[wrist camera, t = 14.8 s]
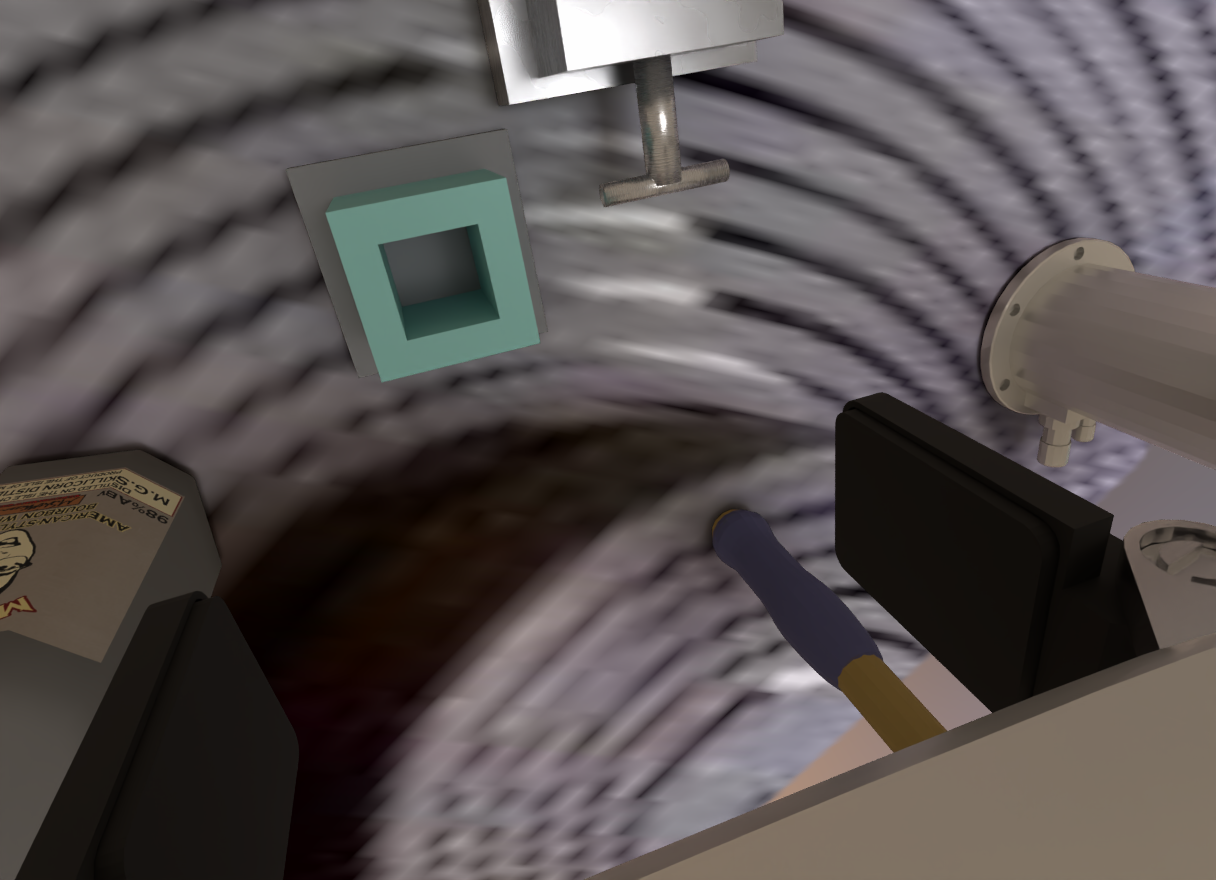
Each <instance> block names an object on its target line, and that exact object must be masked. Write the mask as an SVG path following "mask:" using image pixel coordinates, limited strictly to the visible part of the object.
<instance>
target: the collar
mask: <svg viewBox="0 0 1216 880" xmlns="http://www.w3.org/2000/svg"><path fill="white" fill-rule="evenodd" d="M326 216H327V219H328V222H329V225H330V228H331V231H332V234H333V237H334V240H335V243H336V246H337V249H338V252H339V255H340V258H341V261H342V264H343V267H344V270H345V273H346V276H347V279H348V282H349V285H350V288H351V291H352V294H353V297H354V300H355V303H356V306H357V309H358V312H359V315H360V318H361V321H362V324H363V327H364V330H365V333H366V336H367V339H368V342H369V345H370V348H371V351H372V354H373V357H374V360H375V363H376V366H377V369H378V372H379V375H380V378H381V381H382V382H386V381H390V380H394V379H398V378H402V377H406V376H410V375H414V374H418V373H422V372H426V371H430V370H434V369H438V368H442V367H446V366H450V365H454V364H458V363H462V362H466V361H470V360H474V359H478V358H482V357H486V356H491V355H495V354H499V353H503V352H507V351H511V350H515V349H519V348H523V347H527V346H531V345H535V344H539V343H540V339H539V334H538V329H537V324H536V319H535V315H534V310H533V305H532V300H531V295H530V291H529V286H528V281H527V276H526V271H525V267H524V262H523V257H522V252H521V247H520V242H519V238H518V233H517V228H516V223H515V218H514V214H513V209H512V204H511V199H510V194H509V190H508V185H507V180H506V177H503V176H501V175H499V174H496V173H494V172H491V171H489V170H487V169H480V170H475V171H470V172H465V173H459V174H454V175H449V176H444V177H438V178H433V179H428V180H423V181H417V182H412V183H407V184H402V185H396V186H391V187H386V188H381V189H375V190H370V191H365V192H360V193H354V194H349V195H344V196H339V197H334V198H333V200H332V201H331V203H330V205H329V207H328V209H327V211H326ZM465 226H466V229H467V233H468V237H469V241H470V245H471V249H472V253H473V258H474V262H475V266H476V270H477V274H478V278H479V282H480V287H481V289H479V290H474V291H470V292H466V293H461V294H457V295H452V296H448V297H444V298H439V299H435V300H430V301H426V302H422V303H417V304H413V305H408V306H404V307H402V305H401V302H400V299H399V295H398V292H397V289H396V285H395V282H394V279H393V275H392V272H391V269H390V265H389V262H388V259H387V255H386V252H385V249H384V245H383V243H388V242H393V241H398V240H402V239H407V238H412V237H417V236H422V235H427V234H431V233H436V232H441V231H446V230H451V229H456V228H460V227H465Z"/></svg>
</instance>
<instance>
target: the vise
mask: <svg viewBox="0 0 1216 880" xmlns="http://www.w3.org/2000/svg"><path fill="white" fill-rule="evenodd" d="M477 2H478V7H479V12H480V17H481V22H482V27H483V32H484V37H485V41H486V46H487V51H488V56H489V61H490V66H491V71H492V76H493V80H494V85H495V90H496V95H497V100H498V105H499V106H503V105H510V104H516V103H522V102H527V101H533V100H539V99H545V98H550V97H556V96H562V95H567V94H573V93H579V92H585V91H590V90H596V89H602V88H607V87H613V86H619V85H624V84H630V83H635V84H636V92H637V100H638V109H639V117H640V126H641V134H642V143H643V151H644V159H645V168H646V175H642V176H637V177H632V178H627V179H622V180H617V181H613V182H608V183H603V184H600V187H599V192H600V198H601V202H602V204H603V206H604V207H609V206H613V205H618V204H623V203H627V202H632V201H637V200H641V199H646V198H651V197H656V196H660V195H665V194H670V193H674V192H679V191H684V190H688V189H693V188H698V187H703V186H707V185H712V184H717V183H721V182H726V181H728V179H729V173H730V172H729V165H728V163H727V161H726V160H725V159H720V160H715V161H710V162H705V163H700V164H696V165H691V166H686V167H681V159H680V149H679V138H678V128H677V117H676V107H675V96H674V86H673V76H676V75H682V74H687V73H693V72H699V71H704V70H710V69H716V68H721V67H727V66H733V65H739V64H744V63H750V62H756V61H757V50H756V40H761V39H766V38H770V37H775V36H780V35H784V30H783V0H477Z"/></svg>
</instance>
